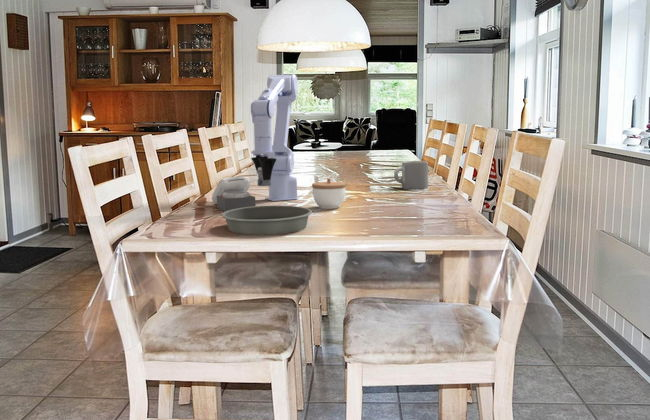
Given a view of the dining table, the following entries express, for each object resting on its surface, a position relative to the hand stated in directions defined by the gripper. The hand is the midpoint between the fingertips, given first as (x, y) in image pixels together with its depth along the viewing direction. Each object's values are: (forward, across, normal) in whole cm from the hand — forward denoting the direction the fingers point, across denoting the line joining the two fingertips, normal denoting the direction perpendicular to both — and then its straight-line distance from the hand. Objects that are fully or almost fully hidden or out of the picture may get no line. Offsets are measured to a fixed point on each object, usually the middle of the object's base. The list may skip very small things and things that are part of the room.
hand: (264, 179), depth 232 cm
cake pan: (+10, +37, -13) cm, 40 cm away
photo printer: (+7, -12, -9) cm, 17 cm away
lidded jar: (+9, +13, +17) cm, 23 cm away
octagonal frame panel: (+9, 0, -10) cm, 13 cm away
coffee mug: (+9, -16, +66) cm, 69 cm away
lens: (+2, 0, 0) cm, 2 cm away
